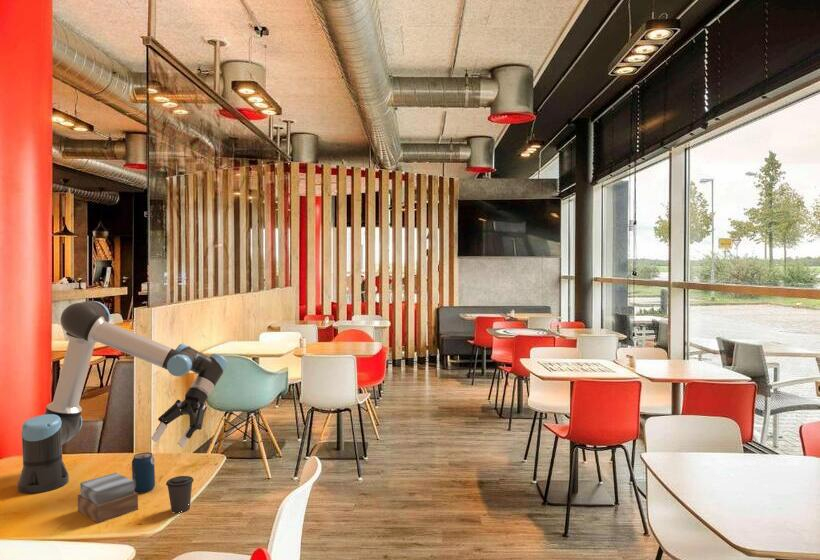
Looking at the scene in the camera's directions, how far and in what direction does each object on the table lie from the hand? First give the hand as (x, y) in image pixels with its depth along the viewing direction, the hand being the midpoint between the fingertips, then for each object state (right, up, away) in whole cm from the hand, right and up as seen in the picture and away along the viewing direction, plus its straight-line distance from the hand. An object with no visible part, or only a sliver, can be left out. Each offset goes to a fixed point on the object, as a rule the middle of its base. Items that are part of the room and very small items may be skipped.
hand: (166, 443), depth 207 cm
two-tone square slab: (-9, -14, -24) cm, 29 cm away
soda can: (-5, -14, -8) cm, 17 cm away
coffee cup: (+14, -14, -24) cm, 31 cm away
